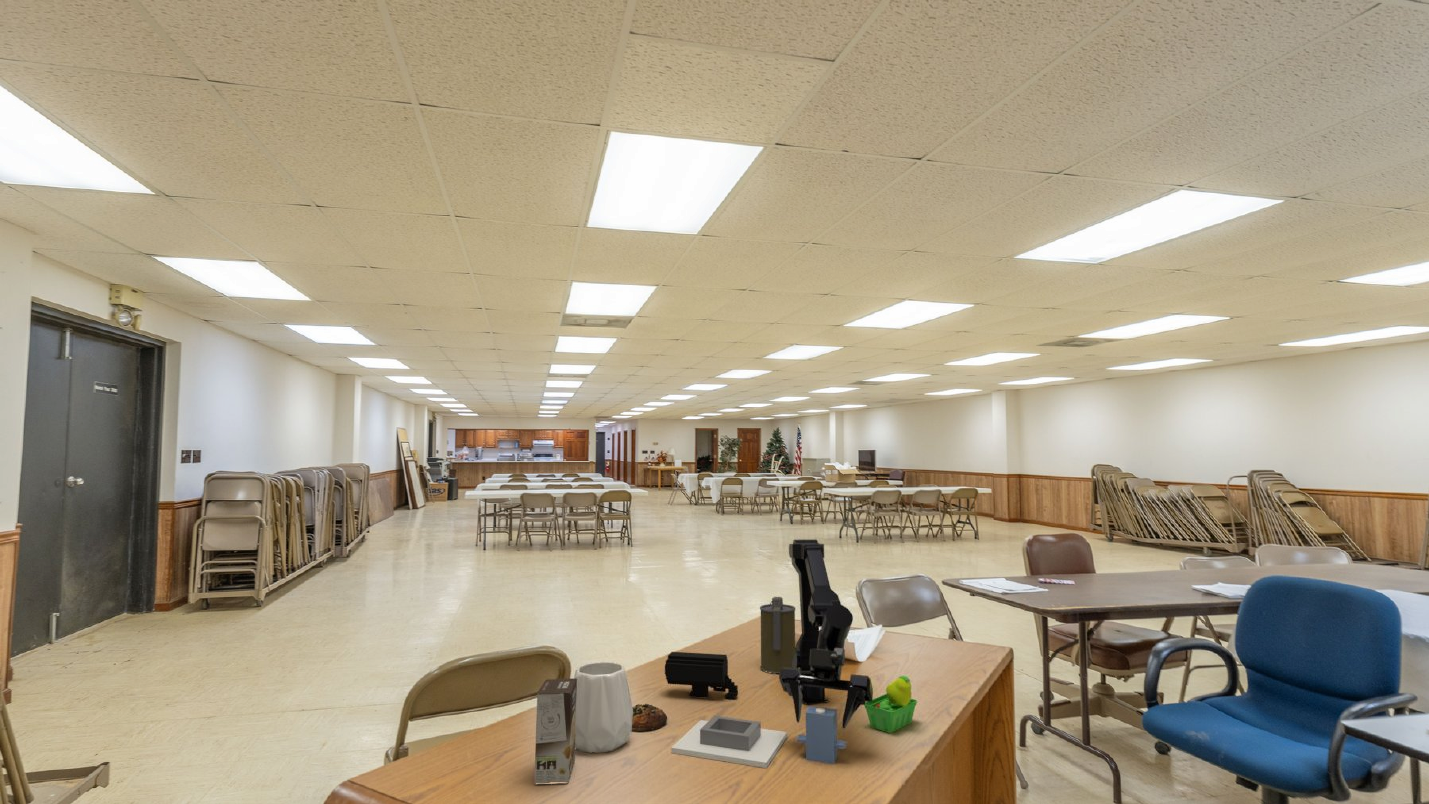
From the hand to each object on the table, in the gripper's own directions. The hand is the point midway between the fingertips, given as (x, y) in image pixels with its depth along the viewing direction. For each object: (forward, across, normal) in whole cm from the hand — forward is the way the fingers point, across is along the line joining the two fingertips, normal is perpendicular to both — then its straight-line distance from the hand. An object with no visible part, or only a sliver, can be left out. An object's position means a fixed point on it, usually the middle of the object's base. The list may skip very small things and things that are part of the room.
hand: (820, 724), depth 131 cm
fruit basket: (-12, +12, +22) cm, 27 cm away
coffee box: (+22, -46, -12) cm, 52 cm away
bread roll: (+1, -42, +9) cm, 43 cm away
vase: (+10, -46, -1) cm, 47 cm away
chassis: (+4, -19, +5) cm, 20 cm away
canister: (-35, -24, +44) cm, 61 cm away
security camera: (-14, -36, +24) cm, 45 cm away
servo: (+4, 0, +6) cm, 7 cm away
